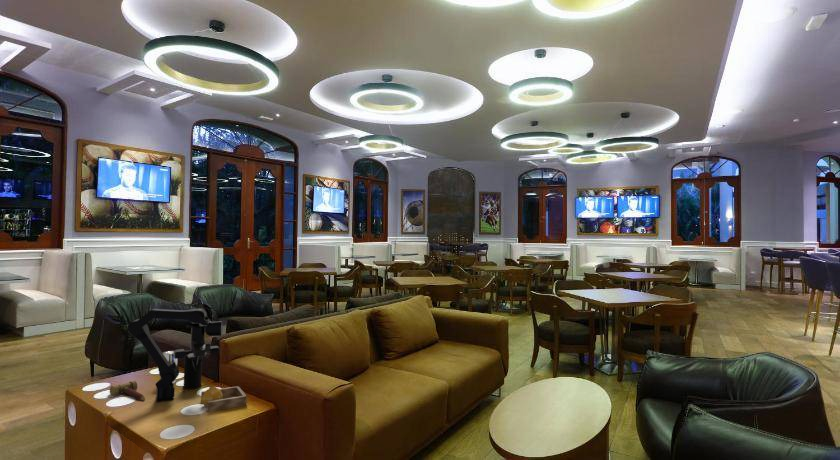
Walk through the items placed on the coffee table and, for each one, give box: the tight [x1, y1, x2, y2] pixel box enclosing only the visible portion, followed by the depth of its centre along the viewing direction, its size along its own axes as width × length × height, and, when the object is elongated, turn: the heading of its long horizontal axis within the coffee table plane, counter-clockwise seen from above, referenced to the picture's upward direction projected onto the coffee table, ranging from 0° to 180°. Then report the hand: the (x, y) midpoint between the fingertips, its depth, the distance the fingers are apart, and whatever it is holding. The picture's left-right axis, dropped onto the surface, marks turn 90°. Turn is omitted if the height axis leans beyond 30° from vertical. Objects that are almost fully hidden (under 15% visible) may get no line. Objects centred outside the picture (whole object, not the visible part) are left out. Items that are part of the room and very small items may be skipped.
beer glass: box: [162, 350, 179, 384], centre depth 224 cm, size 7×7×15 cm
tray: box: [200, 385, 248, 413], centre depth 199 cm, size 16×15×4 cm
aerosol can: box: [182, 352, 203, 390], centre depth 219 cm, size 8×8×20 cm
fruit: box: [201, 385, 224, 407], centre depth 197 cm, size 8×8×8 cm
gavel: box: [109, 380, 146, 401], centre depth 204 cm, size 21×5×10 cm
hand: (196, 370), depth 206 cm, fingers closed
